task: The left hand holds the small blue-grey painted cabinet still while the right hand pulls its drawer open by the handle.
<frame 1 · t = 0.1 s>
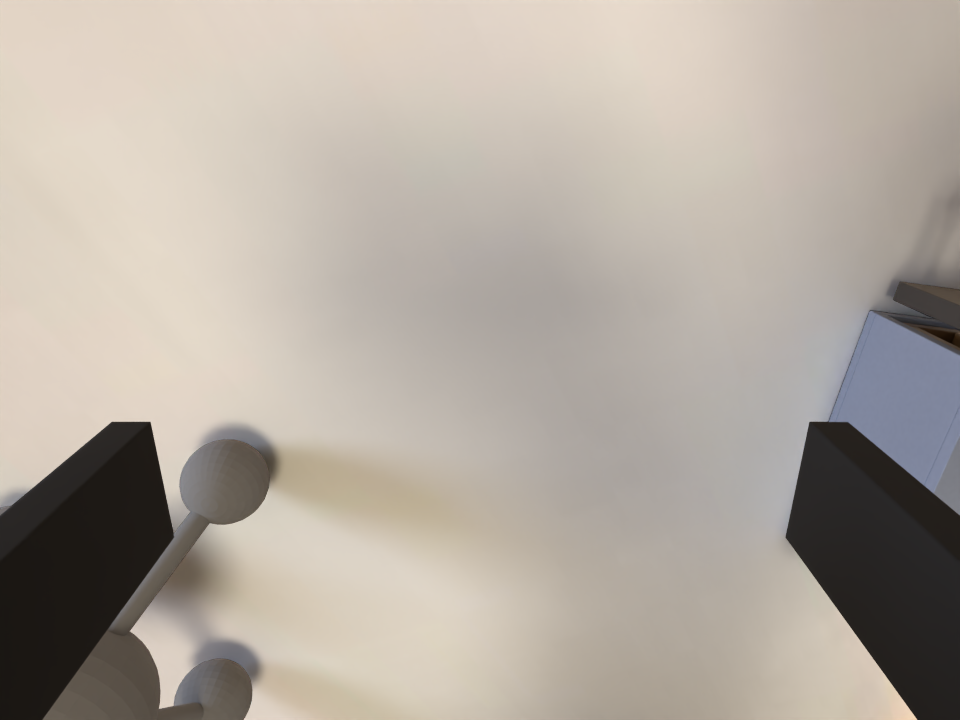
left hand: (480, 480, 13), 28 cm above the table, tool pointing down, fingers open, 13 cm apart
drawer: (952, 395, 37), point 5 cm above the table, slide at 1.0 cm
cabinet: (869, 437, 44), on the table
molecular model: (185, 537, 47), on the table
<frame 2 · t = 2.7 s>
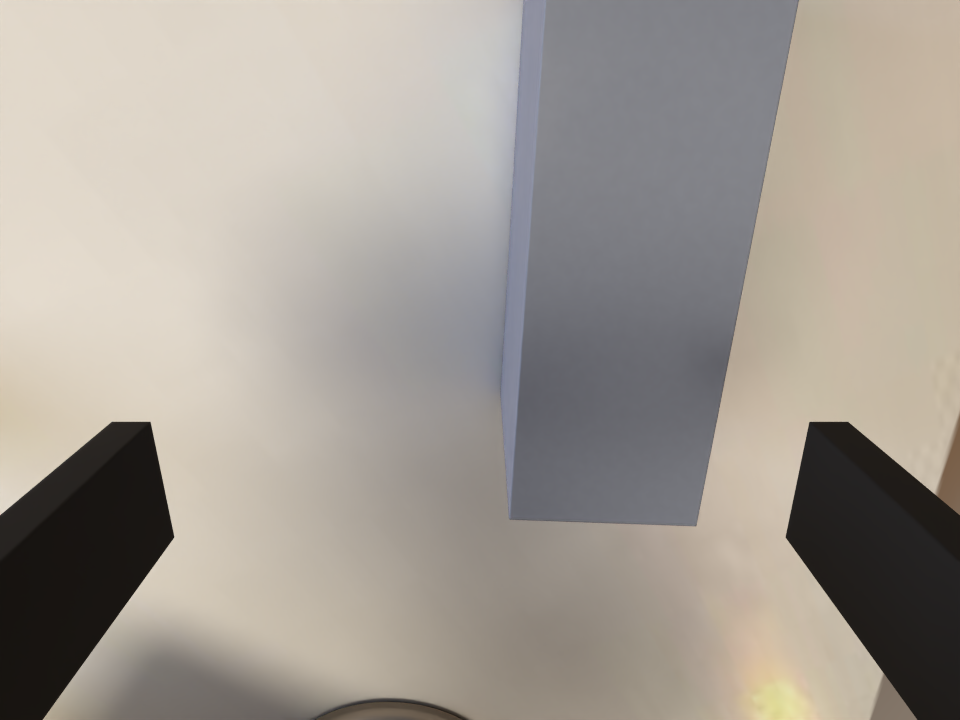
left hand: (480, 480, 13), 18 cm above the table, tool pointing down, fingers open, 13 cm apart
cabinet: (583, 219, 28), on the table
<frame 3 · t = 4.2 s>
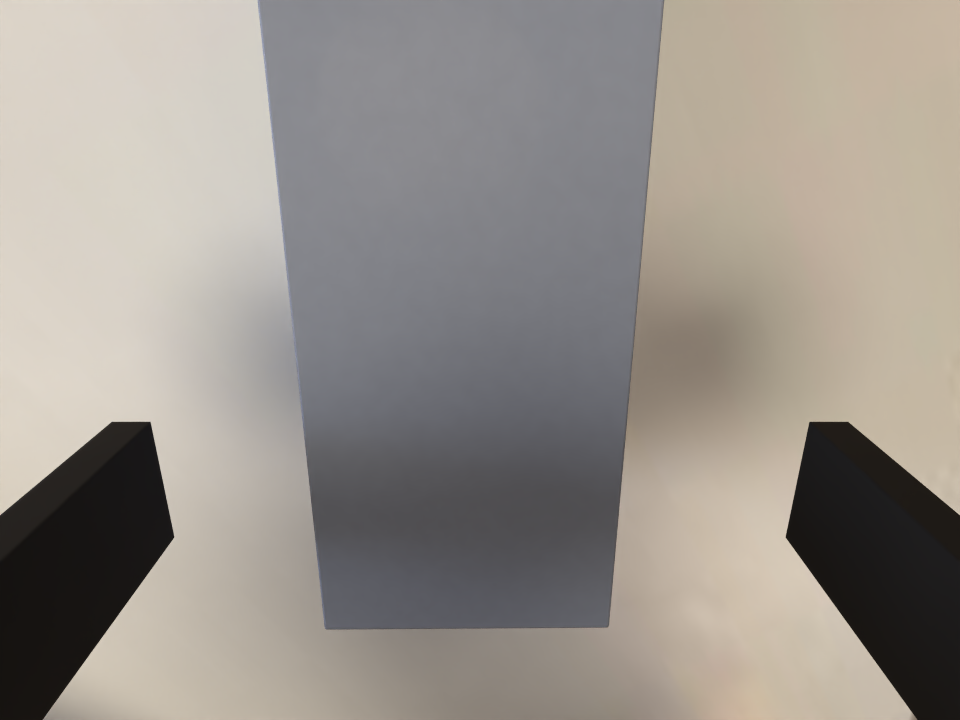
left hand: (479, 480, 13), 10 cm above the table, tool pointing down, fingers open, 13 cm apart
cabinet: (468, 188, 21), on the table
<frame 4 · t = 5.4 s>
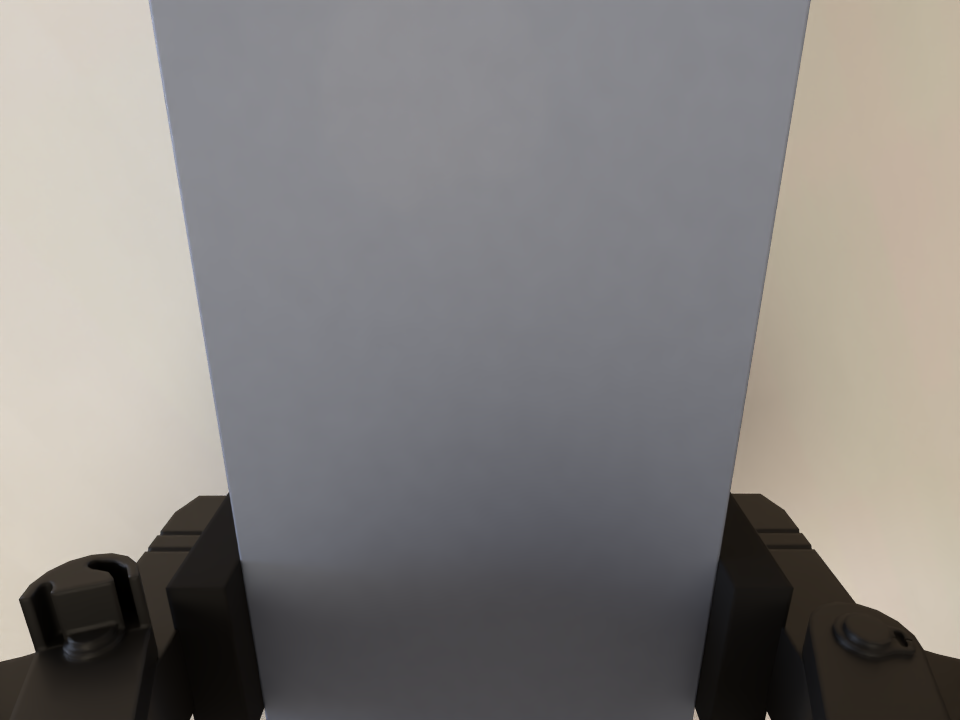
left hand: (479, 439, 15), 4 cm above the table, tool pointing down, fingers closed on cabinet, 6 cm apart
cabinet: (479, 192, 17), on the table, touching left hand
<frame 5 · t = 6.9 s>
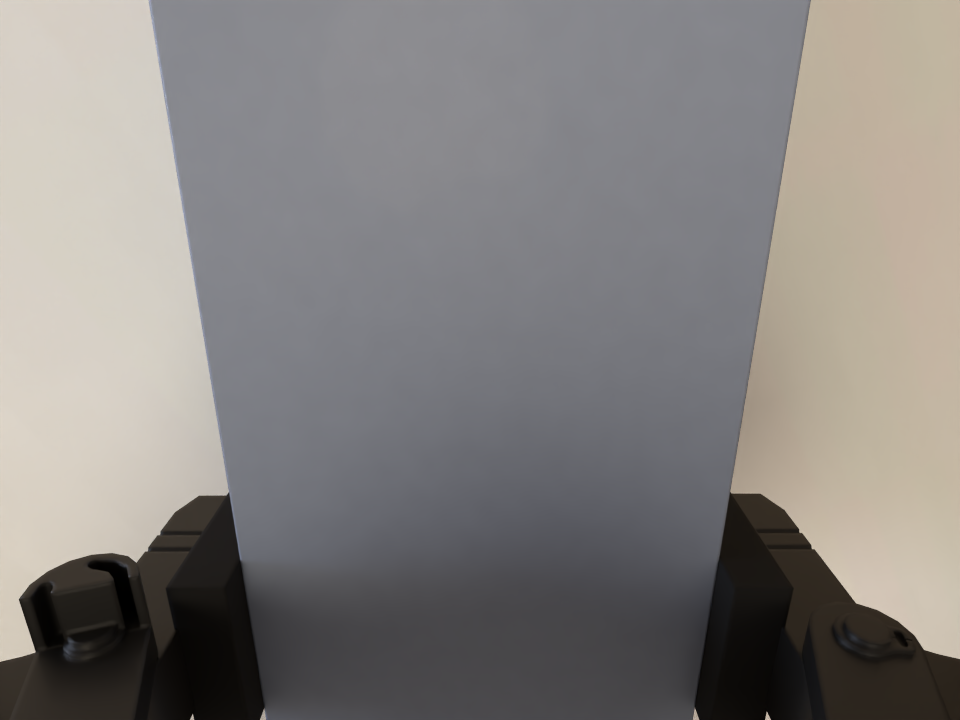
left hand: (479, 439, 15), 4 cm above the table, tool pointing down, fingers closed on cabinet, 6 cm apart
cabinet: (479, 192, 17), on the table, touching left hand
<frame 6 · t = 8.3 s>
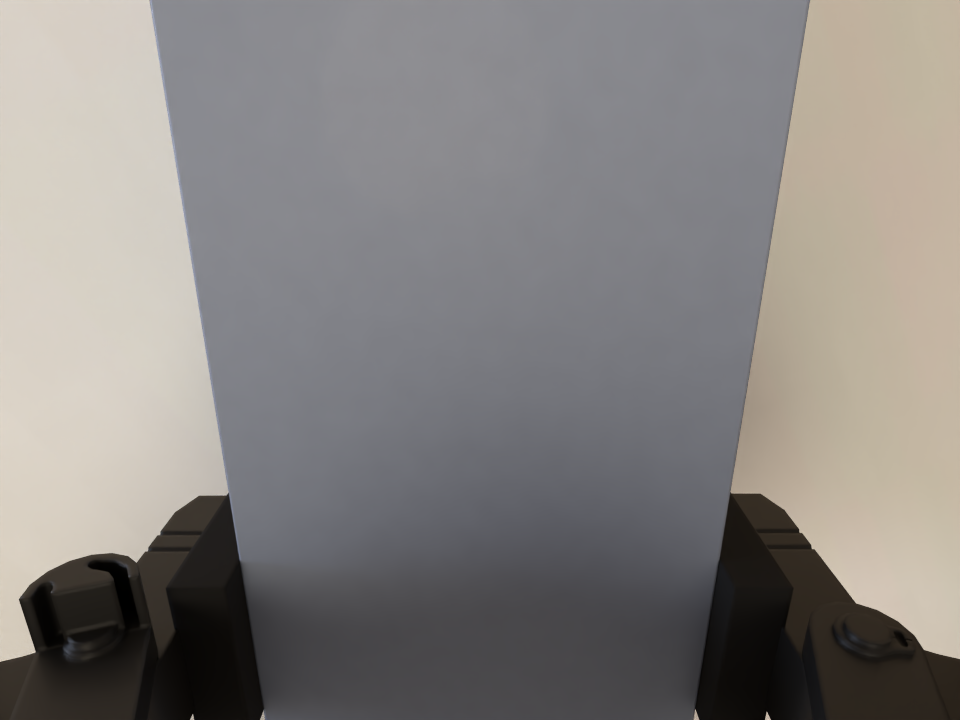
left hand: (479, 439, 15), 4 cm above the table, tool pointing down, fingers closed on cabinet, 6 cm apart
cabinet: (479, 193, 17), on the table, touching left hand
when the left hand's fingers open (4 cm above the table, at t = 10.0 s): cabinet stays where it is, on the table.
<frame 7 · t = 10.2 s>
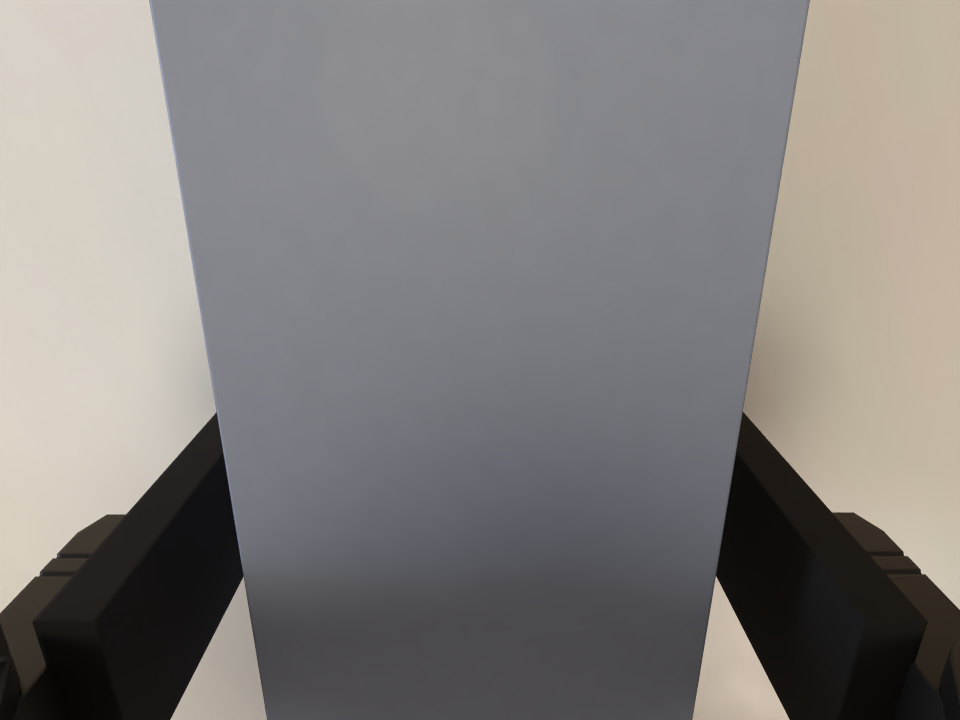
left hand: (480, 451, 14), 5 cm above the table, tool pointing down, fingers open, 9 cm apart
cabinet: (479, 169, 17), on the table
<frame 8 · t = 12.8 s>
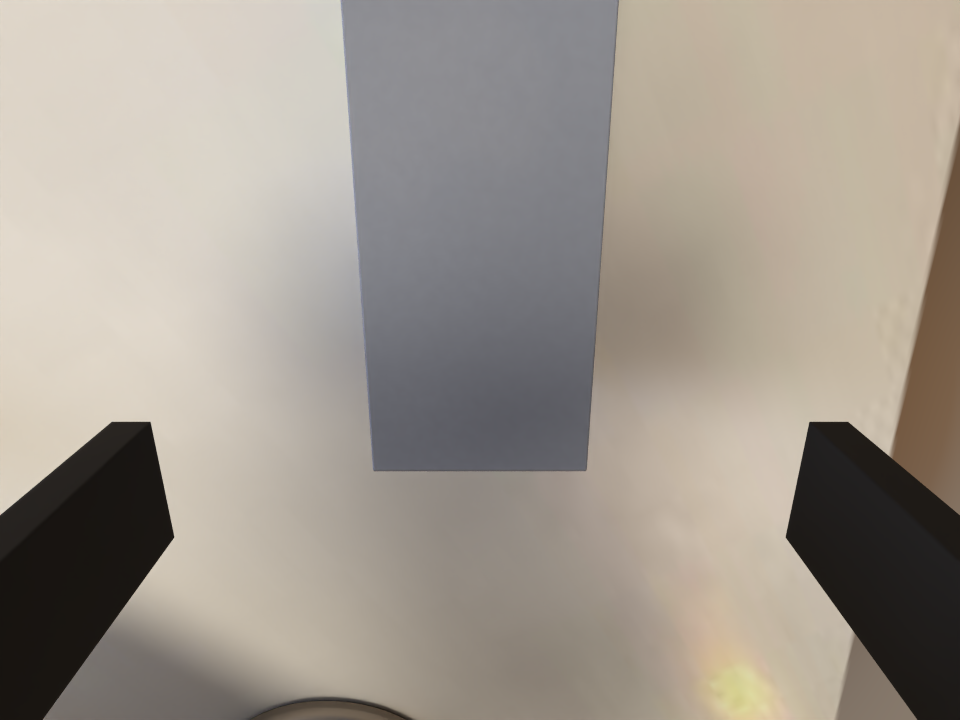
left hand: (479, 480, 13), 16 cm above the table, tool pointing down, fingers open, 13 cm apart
cabinet: (479, 149, 26), on the table
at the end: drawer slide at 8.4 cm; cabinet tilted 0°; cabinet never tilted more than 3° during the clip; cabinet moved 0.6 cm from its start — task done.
